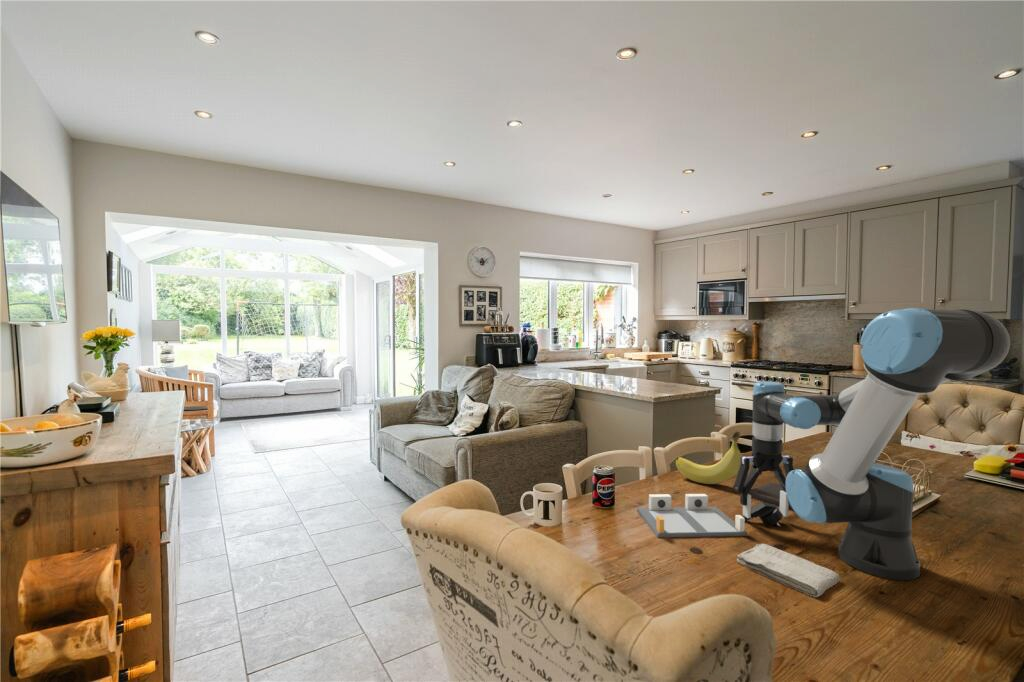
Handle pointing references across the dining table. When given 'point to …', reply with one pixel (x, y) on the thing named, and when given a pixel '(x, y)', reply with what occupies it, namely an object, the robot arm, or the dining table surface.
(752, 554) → the washcloth
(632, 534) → the dining table surface
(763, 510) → the power plug
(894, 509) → the robot arm
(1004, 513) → the dining table surface
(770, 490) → the hardcover book
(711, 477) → the banana
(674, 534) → the board
